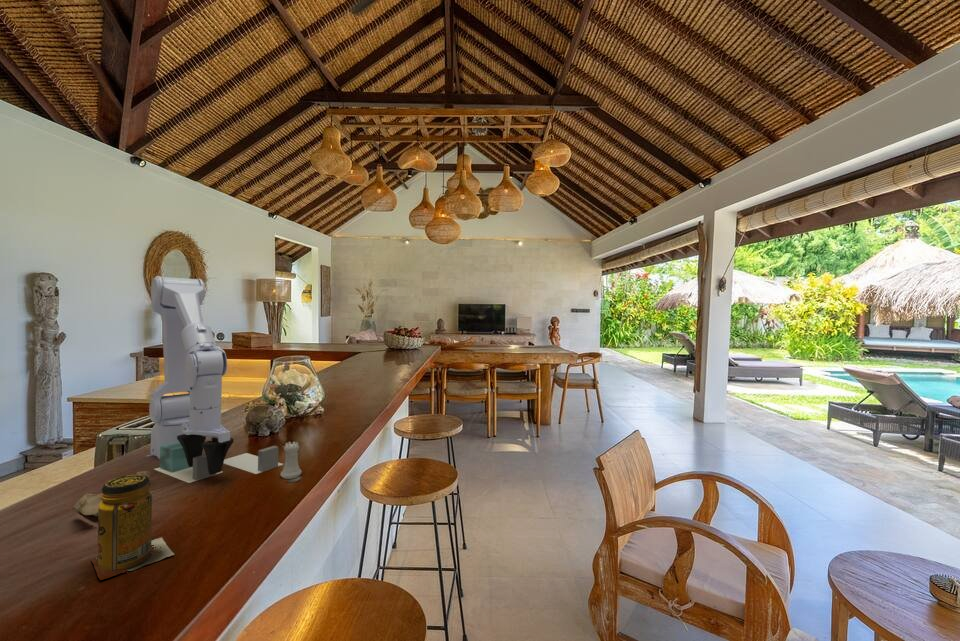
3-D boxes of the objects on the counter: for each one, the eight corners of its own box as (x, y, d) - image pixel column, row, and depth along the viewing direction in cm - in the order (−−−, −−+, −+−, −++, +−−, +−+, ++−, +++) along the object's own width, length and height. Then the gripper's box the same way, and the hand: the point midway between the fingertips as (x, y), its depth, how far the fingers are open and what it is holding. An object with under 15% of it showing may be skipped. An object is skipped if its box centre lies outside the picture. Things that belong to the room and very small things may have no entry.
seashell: (60, 535, 68) (60, 503, 67) (102, 493, 83) (102, 467, 83) (124, 525, 71) (124, 495, 71) (152, 487, 86) (153, 462, 86)
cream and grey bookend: (217, 464, 98) (218, 442, 98) (246, 456, 105) (246, 435, 104) (255, 477, 92) (256, 453, 92) (283, 467, 98) (284, 445, 98)
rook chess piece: (293, 484, 89) (294, 447, 89) (275, 482, 90) (275, 445, 90) (306, 476, 93) (307, 441, 93) (288, 474, 94) (289, 439, 94)
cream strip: (153, 472, 93) (153, 448, 93) (187, 462, 99) (187, 440, 99) (188, 486, 86) (189, 461, 86) (222, 475, 92) (223, 451, 92)
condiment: (90, 561, 61) (91, 480, 61) (161, 538, 68) (162, 465, 67) (99, 583, 56) (100, 495, 56) (174, 556, 63) (176, 477, 63)
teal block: (159, 468, 93) (160, 445, 93) (184, 461, 98) (184, 440, 98) (171, 472, 91) (172, 450, 91) (196, 465, 95) (196, 443, 95)
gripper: (166, 405, 89) (165, 468, 89) (205, 415, 82) (204, 483, 83) (201, 399, 95) (200, 458, 96) (240, 408, 89) (239, 471, 89)
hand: (204, 469), depth 90 cm, fingers open, 7 cm apart
